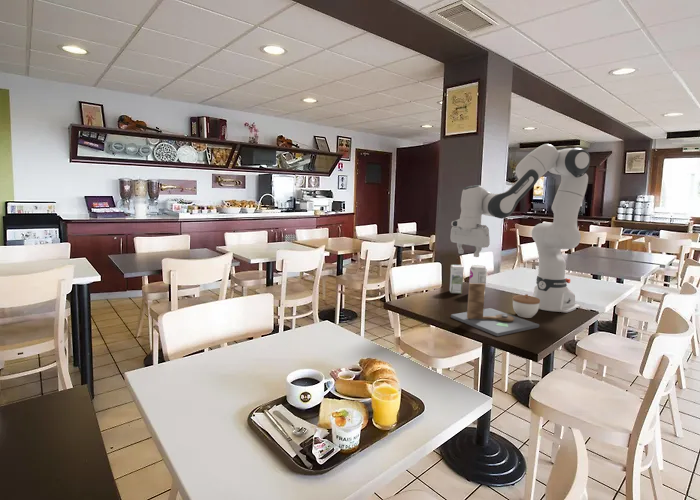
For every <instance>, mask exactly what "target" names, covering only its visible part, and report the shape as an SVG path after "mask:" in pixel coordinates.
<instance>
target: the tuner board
mask: <svg viewBox="0 0 700 500" xmlns="http://www.w3.org/2000/svg"><path fill="white" fill-rule="evenodd" d="M496 315H502V317H504V318H508V316H507V315H509V316H512V317H514V321H512V322H504V321H500V320H497V319H468V318H467V311H465V312H464V311H463V312H459V313H452V314H450V318H451V319H454V320H456V321H459V322H460V323H464V324H466V325H469V326H471V327H473V328H476V329H478V330H481V331H483V332H486V333H488V334H491V335H494V336H496V337H500V336H505V335H510V334H515V333H519V332H524V331H528V330H534V329H539V328H540V324H539V323H535V322H534V321H530V320H527V319H525V318H523V317H520V316H515V315H513V314H509V313H508V312H505V311H504V312H503V311H501V310H498V309H495V308H491V307H489V308H484V309H483V316H496Z"/></svg>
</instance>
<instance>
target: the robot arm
mask: <svg viewBox="0 0 700 500" xmlns="http://www.w3.org/2000/svg"><path fill="white" fill-rule="evenodd" d="M590 164H591V155H590V153H589V151H587V150H586V149H584V148H580V147H574V148H573V147H572V148H571V147H570V148H563V149H558V150H557V148H556V147H555V146H554V145H552V144H549V143H544V144H542V145H540V146H538V147H536V148H535V149H533V150H532V151H531V152H529V153H528V154H526V156H525V157H524V156H523V158H522V159H521V160H520V161H519V162H518V164H517V165H516V167H515V176H516V178H517V180H516V181H515V182H514V184H513V185H512V186H510V188H508V189H507V190H506V191H505V192H501V193H493V192H491V191H488V190H486V188H483V187H482V185H480V184H479V185H478V184H476V185H469V186H466V187H464V188H463V189H462V191H461V198H460V210H461V212H460V214H459V218H458V219H455V220H452V221H451V223H450V225H451V229H450V236H449V237H450V242H451V243H455V244H456V247H457V250H458V254H461V255H463V254H464V251H465V250H464V249H463V247H462V246H471V247H475V252H473V257H475V258H479V257H480V253H481V251H482V250H483V249H484V248H488V247H489V246H490V241H491V240H490V229H489V227H488V226H487V225H486V224H482V215H483V216H488V217H493V218H497V219H506V218H508V217H510V216H511V215H512V214H513V212H514V211H515V210H516V207H517V206H518V203H519V202H520V201H521V200H522V199H523V198H524V197H525V196H526V195H527V194H528V193H529V191H531V190H532V188H534V187H535V185H536V184H537V182H538V181H539V180H540V179H541V178H542V177H543V176H544V175H545V174H546V173H547V174H550V175H559V176H560V178H561V179H560V180H561V181H560V184H559V186H558V188H557V191H556V194H555V196H554V199H553V200H552V201H553V202H552V205H551V211H552V213H553V221H552V222H542V223H541V222H540V223H538V224H536V225H534V227H533V228H532V231H531V238H532V239H533V241H534V243H535V245H536V249H537V254H538V255H537V256H538V273H537V276H536V280H535V281H536V282H535V283H536V285H535V286H534V289H533V295H532V297H536V298H538V299H540V303H539V309H538V310H542V311H546V312H547V311H548V312H559V313H560V312H561V313H570V312H573V311H575V310H577V309H576V308H578V309H580V308H581V304H578V303H576V296H575V293H574V292H573V291H571V289H570V288H569V287H568V285H567V284H570V283H571V278H566V268H567V262H566V259H565V258H564V256H563V254H562V250H572V249H575V248H576V247H578V245H579V244H580V242H581V238H582V235H581V232H580V230H579V227H578V215H579V212H580V208H581V206H582V202H583V200H584V198H585V195H586V192H587V189H588V184H589V175H588V174H587V171H589V167H590Z"/></svg>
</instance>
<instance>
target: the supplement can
mask: <svg viewBox="0 0 700 500" xmlns="http://www.w3.org/2000/svg"><path fill="white" fill-rule="evenodd" d="M487 273H488V271H487V267H486V266H485V265H479V264H477V265H475V264H474V265H473V264H472V265H471V266H470V268H469V280H468V281H469V282H468V284H469V283H484V284H485V290H486V288H487V287H486V286H487ZM485 295H486V293H485V294H484V296H485Z"/></svg>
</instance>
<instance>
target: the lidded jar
mask: <svg viewBox="0 0 700 500" xmlns="http://www.w3.org/2000/svg"><path fill="white" fill-rule="evenodd" d="M539 303H540V299H538V298H536V297H533V295H529V294H527V293H526V294H524V295H523V294H520V295H519V294H517V295H514V296H513V297H512V308H513V311H514V312H515V314H517V317H519V318H523V319H525V318H526V319H531V318H533V317H534V316H536V314H538V311H539V310H540V309H539Z"/></svg>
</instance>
